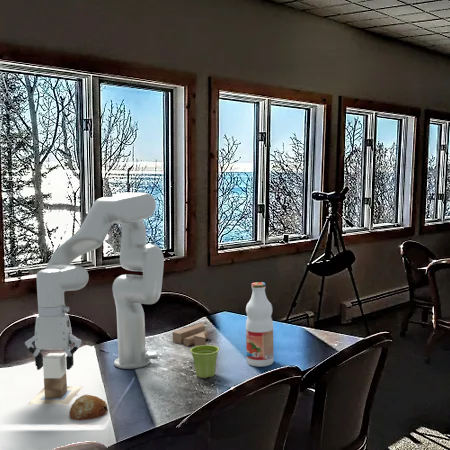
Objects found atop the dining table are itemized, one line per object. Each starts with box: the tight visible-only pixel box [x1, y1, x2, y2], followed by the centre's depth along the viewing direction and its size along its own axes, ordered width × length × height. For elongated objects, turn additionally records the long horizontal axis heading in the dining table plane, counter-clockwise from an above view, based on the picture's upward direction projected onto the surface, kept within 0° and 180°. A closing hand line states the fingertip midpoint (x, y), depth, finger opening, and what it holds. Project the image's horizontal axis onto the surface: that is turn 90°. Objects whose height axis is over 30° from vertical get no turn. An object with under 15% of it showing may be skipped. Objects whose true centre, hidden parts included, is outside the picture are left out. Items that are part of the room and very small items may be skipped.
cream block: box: [42, 352, 67, 379], centre depth 173 cm, size 5×5×6 cm
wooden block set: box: [172, 322, 210, 347], centre depth 230 cm, size 17×6×18 cm
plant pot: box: [190, 344, 220, 379], centre depth 190 cm, size 9×9×9 cm
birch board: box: [27, 385, 83, 405], centre depth 173 cm, size 12×14×1 cm
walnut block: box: [43, 372, 68, 398], centre depth 173 cm, size 5×5×6 cm
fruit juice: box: [245, 281, 275, 368], centre depth 200 cm, size 9×9×28 cm
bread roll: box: [68, 394, 109, 421], centre depth 160 cm, size 10×10×8 cm
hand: (54, 368), depth 173 cm, fingers open, 8 cm apart
